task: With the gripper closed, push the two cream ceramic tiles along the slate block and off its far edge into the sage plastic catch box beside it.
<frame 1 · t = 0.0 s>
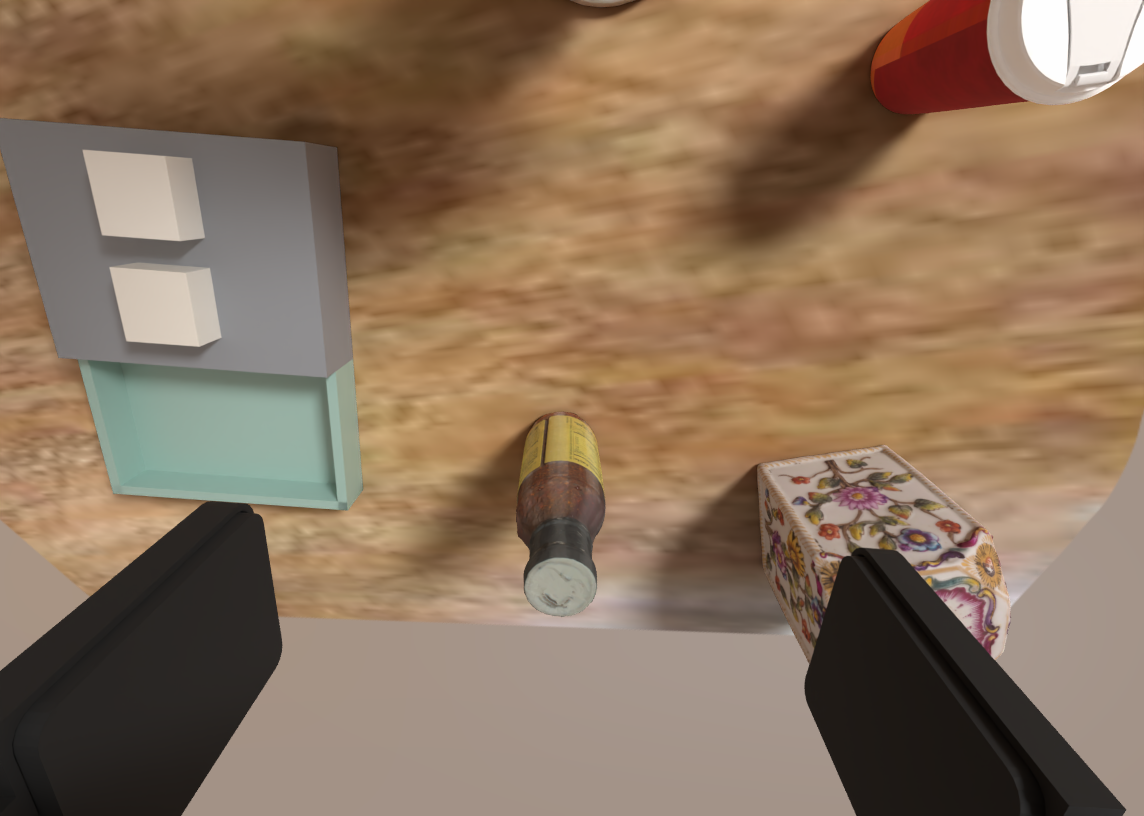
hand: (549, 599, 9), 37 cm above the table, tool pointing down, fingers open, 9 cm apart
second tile: (180, 300, 39), point 5 cm above the table, touching slate block
coffee cup: (913, 65, 38), on the table
catch box: (243, 419, 48), on the table
sauce bottle: (563, 438, 49), on the table
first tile: (161, 196, 37), point 5 cm above the table, touching slate block
slate block: (216, 250, 43), on the table
decorative jar: (820, 507, 51), on the table
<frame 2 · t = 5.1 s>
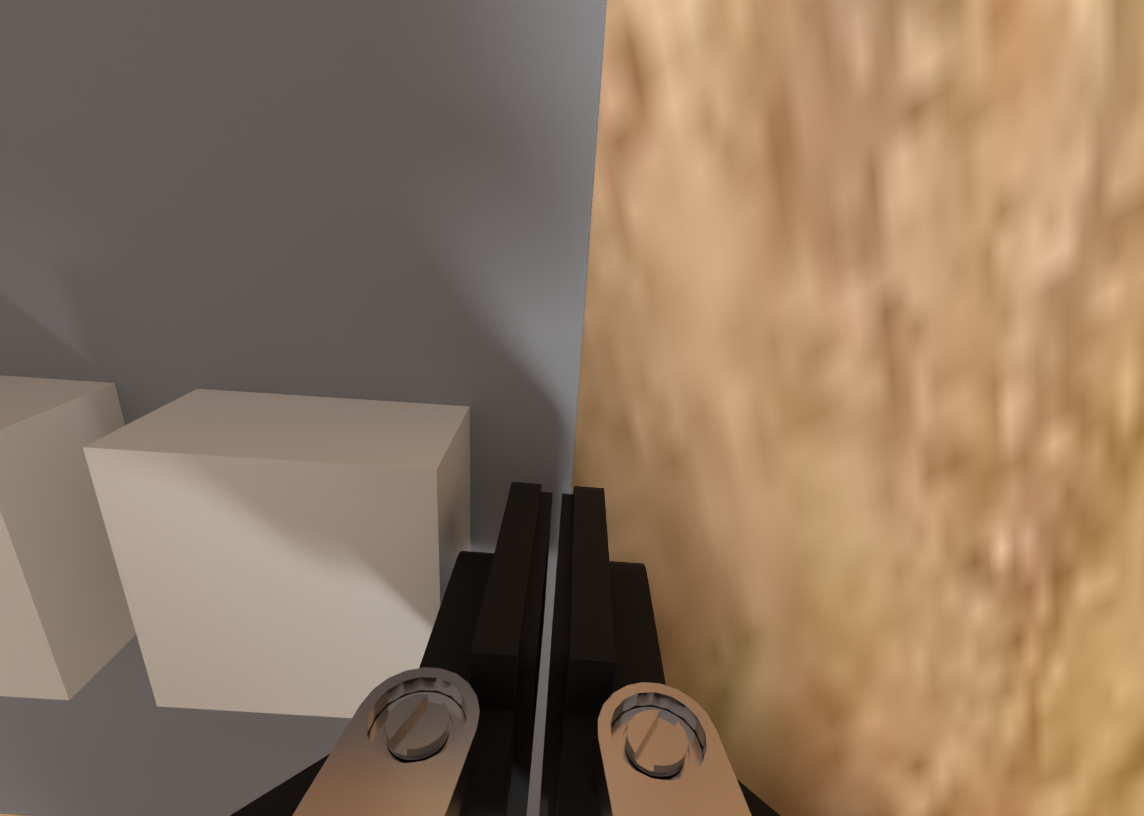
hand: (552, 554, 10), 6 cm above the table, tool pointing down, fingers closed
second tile: (18, 492, 11), point 5 cm above the table, touching slate block
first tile: (345, 514, 11), point 5 cm above the table, touching gripper
slate block: (291, 410, 16), on the table
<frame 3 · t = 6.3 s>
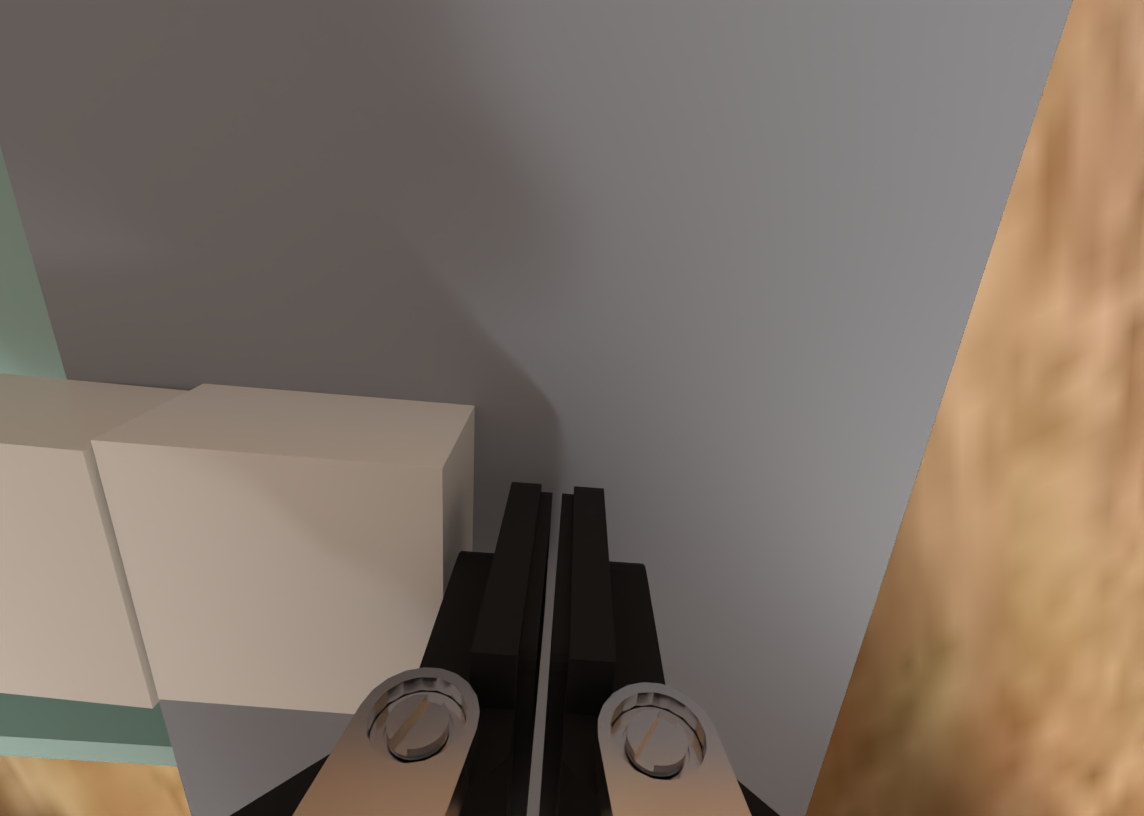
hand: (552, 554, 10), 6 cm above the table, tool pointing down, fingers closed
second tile: (100, 497, 11), point 5 cm above the table, touching slate block
catch box: (23, 393, 16), on the table
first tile: (348, 510, 11), point 5 cm above the table, touching gripper, slate block
slate block: (523, 426, 16), on the table
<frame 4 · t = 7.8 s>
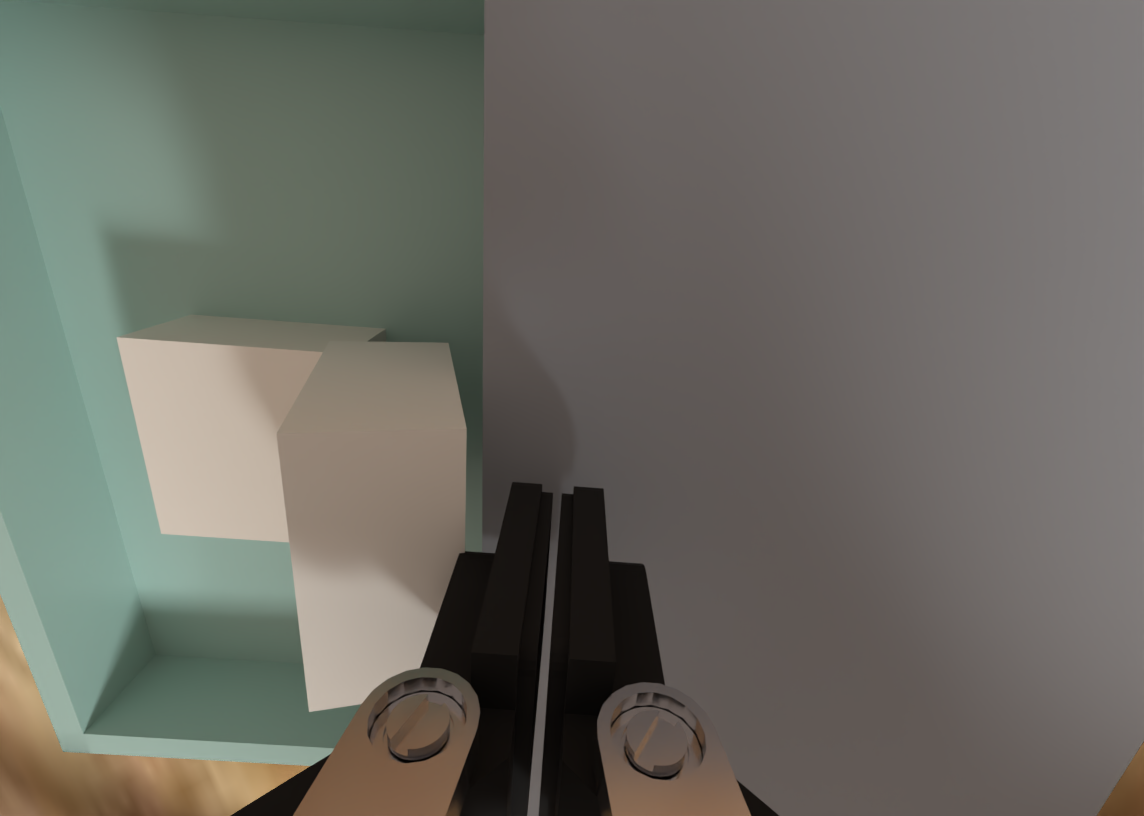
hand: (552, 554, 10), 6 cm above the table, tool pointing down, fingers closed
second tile: (248, 449, 13), point 3 cm above the table, tilted 179°, touching catch box, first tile
catch box: (292, 404, 16), on the table
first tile: (454, 494, 11), point 5 cm above the table, tilted 75°, touching gripper, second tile
slate block: (787, 436, 16), on the table
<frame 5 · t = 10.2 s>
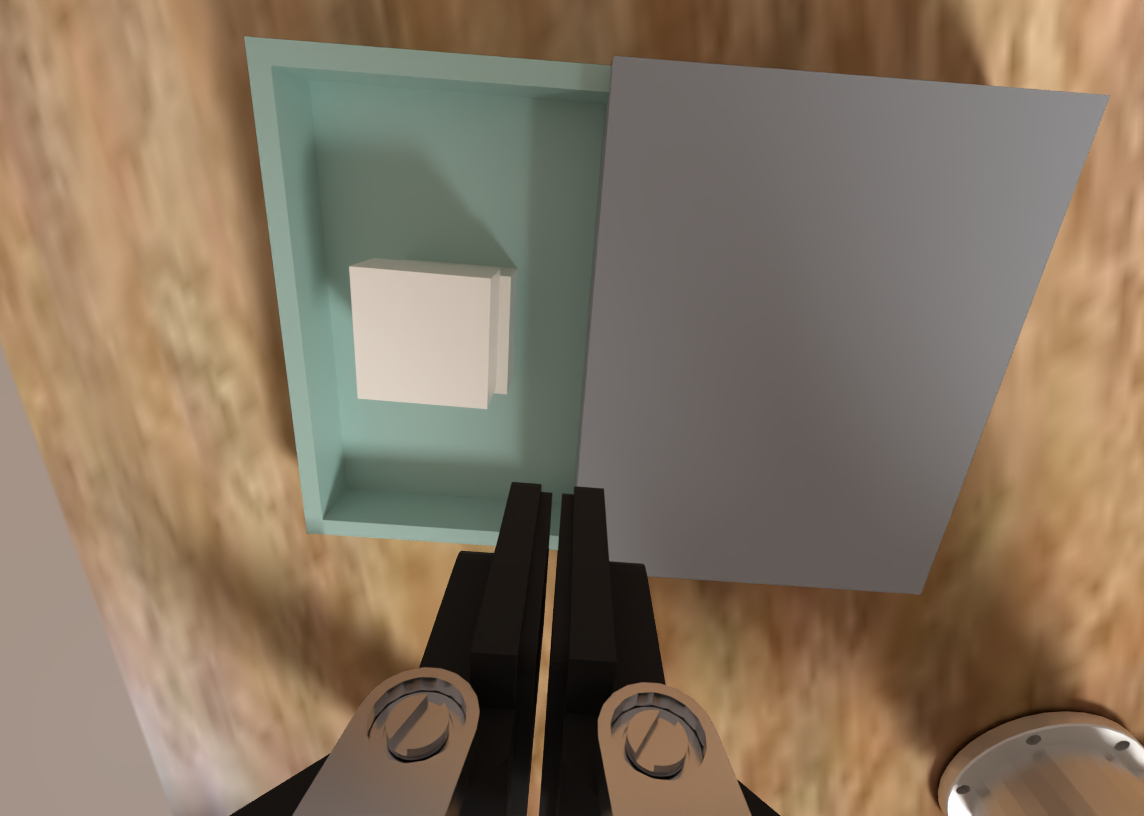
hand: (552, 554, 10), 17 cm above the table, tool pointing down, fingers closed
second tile: (448, 333, 23), point 3 cm above the table, tilted 180°, touching catch box, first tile
catch box: (453, 318, 26), on the table
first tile: (421, 341, 20), point 6 cm above the table, tilted 180°, touching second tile
slate block: (756, 340, 26), on the table
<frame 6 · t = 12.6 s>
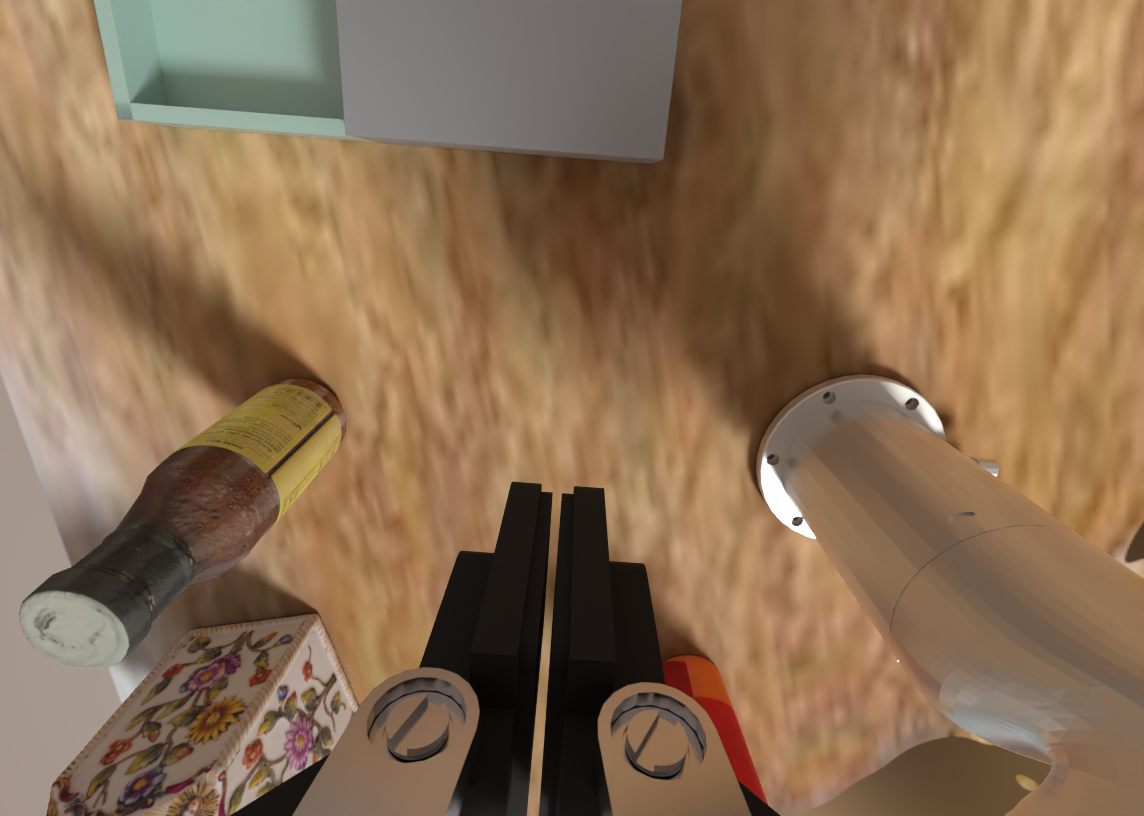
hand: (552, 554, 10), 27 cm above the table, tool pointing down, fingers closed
coffee cup: (686, 679, 47), on the table
sauce bottle: (309, 417, 39), on the table
decorative jar: (280, 668, 48), on the table
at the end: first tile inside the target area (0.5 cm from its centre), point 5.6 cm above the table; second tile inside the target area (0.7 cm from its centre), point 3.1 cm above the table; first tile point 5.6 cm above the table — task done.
